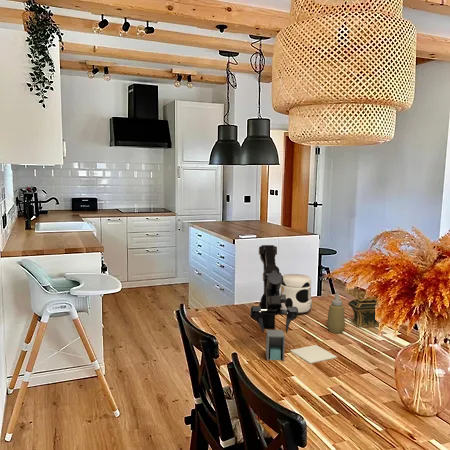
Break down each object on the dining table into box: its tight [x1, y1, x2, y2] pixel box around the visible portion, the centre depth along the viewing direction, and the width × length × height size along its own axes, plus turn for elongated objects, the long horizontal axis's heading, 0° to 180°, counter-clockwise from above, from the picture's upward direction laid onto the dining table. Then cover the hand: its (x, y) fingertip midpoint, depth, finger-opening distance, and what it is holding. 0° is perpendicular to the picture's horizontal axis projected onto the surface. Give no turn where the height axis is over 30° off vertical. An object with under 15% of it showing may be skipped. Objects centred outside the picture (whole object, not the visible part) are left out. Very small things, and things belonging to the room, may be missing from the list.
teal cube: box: [269, 346, 282, 361], centre depth 168 cm, size 4×4×4 cm
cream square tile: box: [290, 344, 338, 364], centre depth 172 cm, size 13×13×1 cm
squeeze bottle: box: [326, 292, 346, 334], centre depth 197 cm, size 8×8×18 cm
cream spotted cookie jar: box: [280, 273, 313, 315], centre depth 225 cm, size 17×17×18 cm
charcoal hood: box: [265, 329, 286, 362], centre depth 168 cm, size 6×6×10 cm
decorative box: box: [345, 287, 380, 328], centre depth 206 cm, size 20×10×20 cm, turn 99°
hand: (274, 332), depth 170 cm, fingers open, 9 cm apart
